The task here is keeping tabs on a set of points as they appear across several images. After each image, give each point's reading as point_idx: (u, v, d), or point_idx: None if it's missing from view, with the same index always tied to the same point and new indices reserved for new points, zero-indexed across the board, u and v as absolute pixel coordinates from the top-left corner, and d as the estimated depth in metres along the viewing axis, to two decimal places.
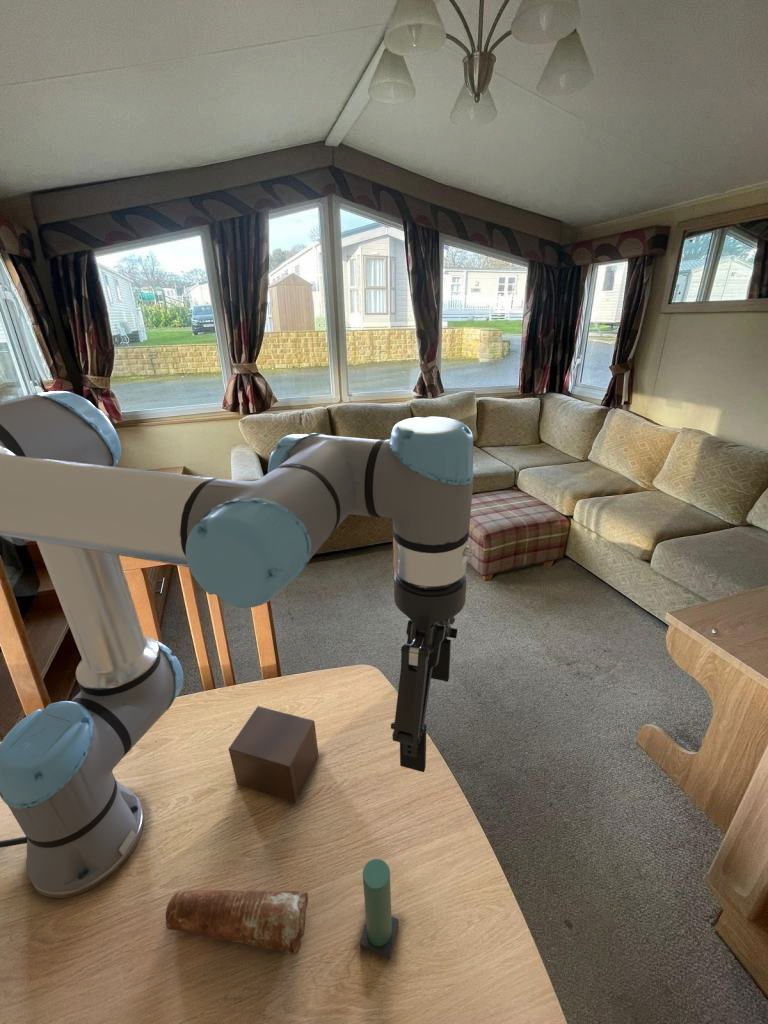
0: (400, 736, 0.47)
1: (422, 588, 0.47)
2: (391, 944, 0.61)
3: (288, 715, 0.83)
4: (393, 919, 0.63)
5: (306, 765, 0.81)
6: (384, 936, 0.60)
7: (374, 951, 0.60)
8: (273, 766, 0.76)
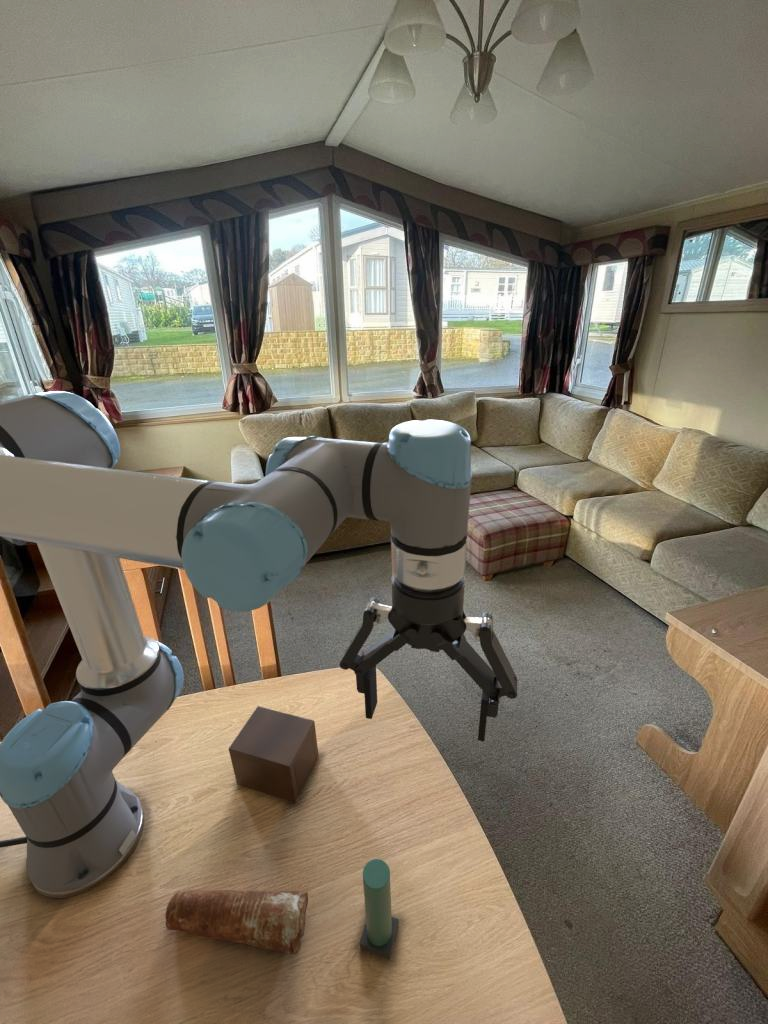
0: (345, 652, 0.58)
1: None
2: (391, 944, 0.61)
3: (288, 715, 0.83)
4: (393, 919, 0.63)
5: (306, 765, 0.81)
6: (384, 936, 0.60)
7: (374, 951, 0.60)
8: (273, 766, 0.76)
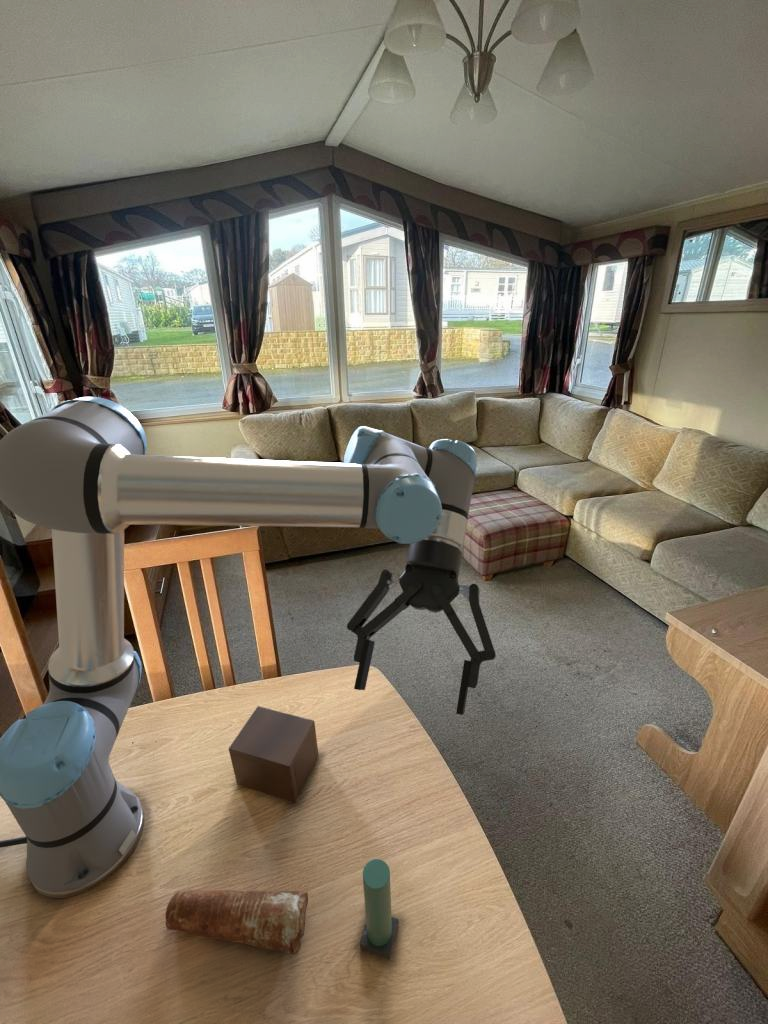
0: None
1: None
2: (391, 944, 0.61)
3: (288, 715, 0.83)
4: (393, 919, 0.63)
5: (306, 765, 0.81)
6: (384, 936, 0.60)
7: (374, 951, 0.60)
8: (273, 766, 0.76)
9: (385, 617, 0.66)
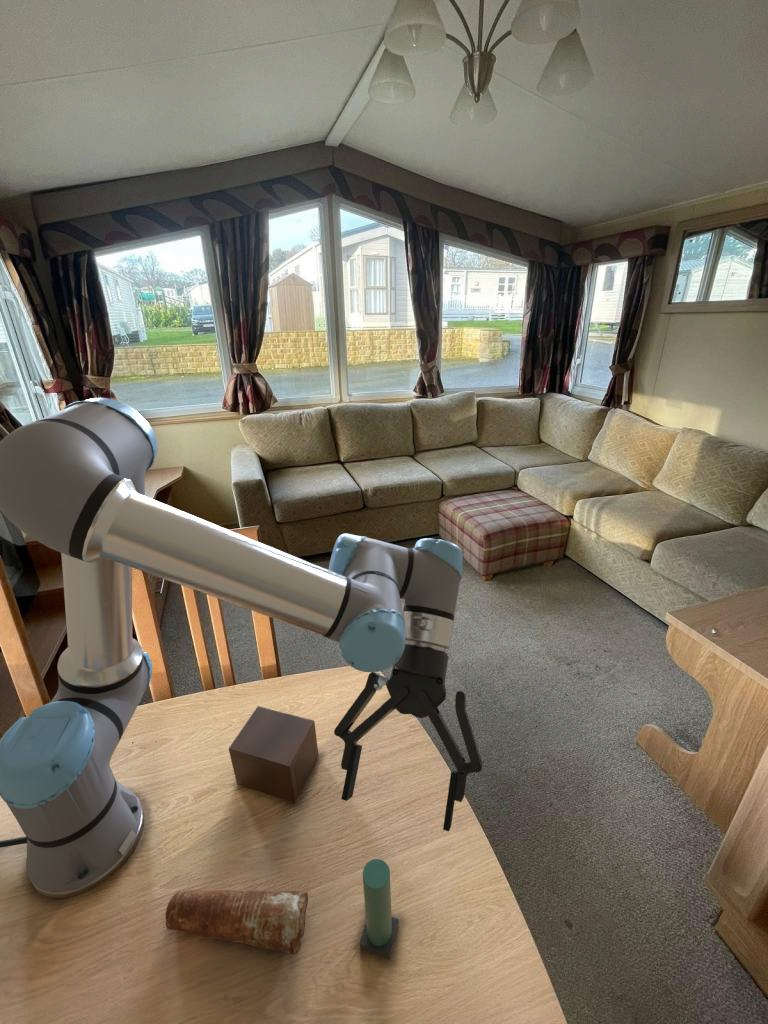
0: None
1: None
2: (391, 944, 0.61)
3: (288, 715, 0.83)
4: (393, 919, 0.63)
5: (306, 765, 0.81)
6: (384, 936, 0.60)
7: (374, 951, 0.60)
8: (273, 766, 0.76)
9: (372, 723, 0.66)
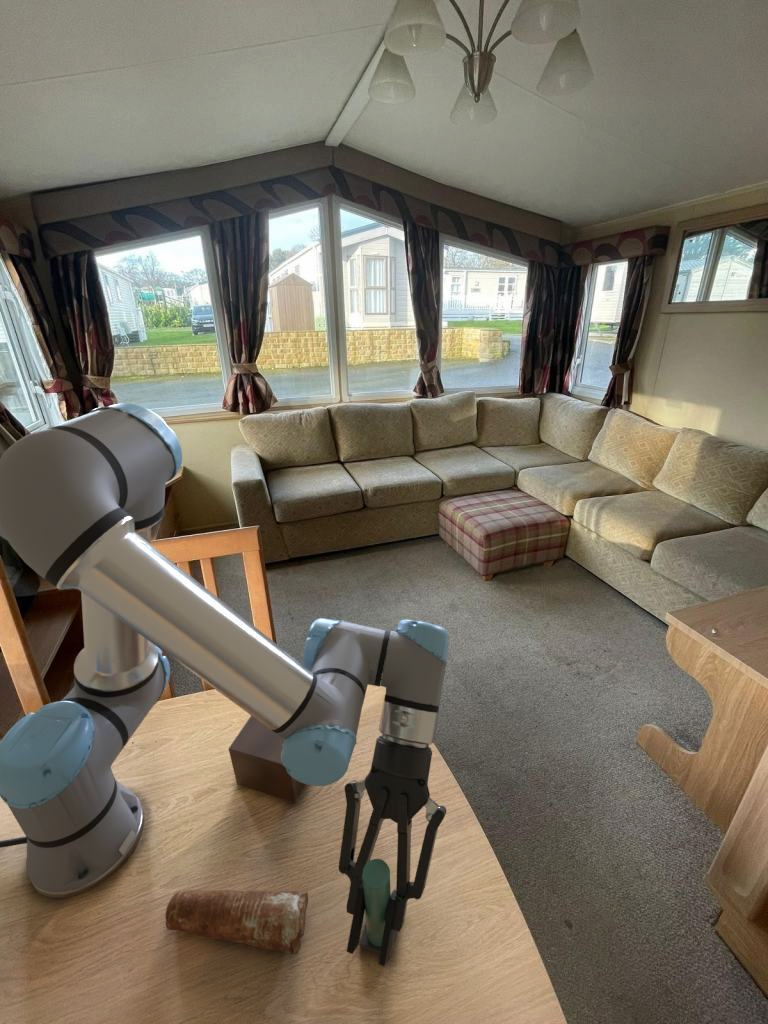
0: None
1: (382, 735, 0.65)
2: (391, 944, 0.61)
3: None
4: None
5: None
6: None
7: (374, 951, 0.60)
8: (273, 766, 0.76)
9: (369, 846, 0.60)
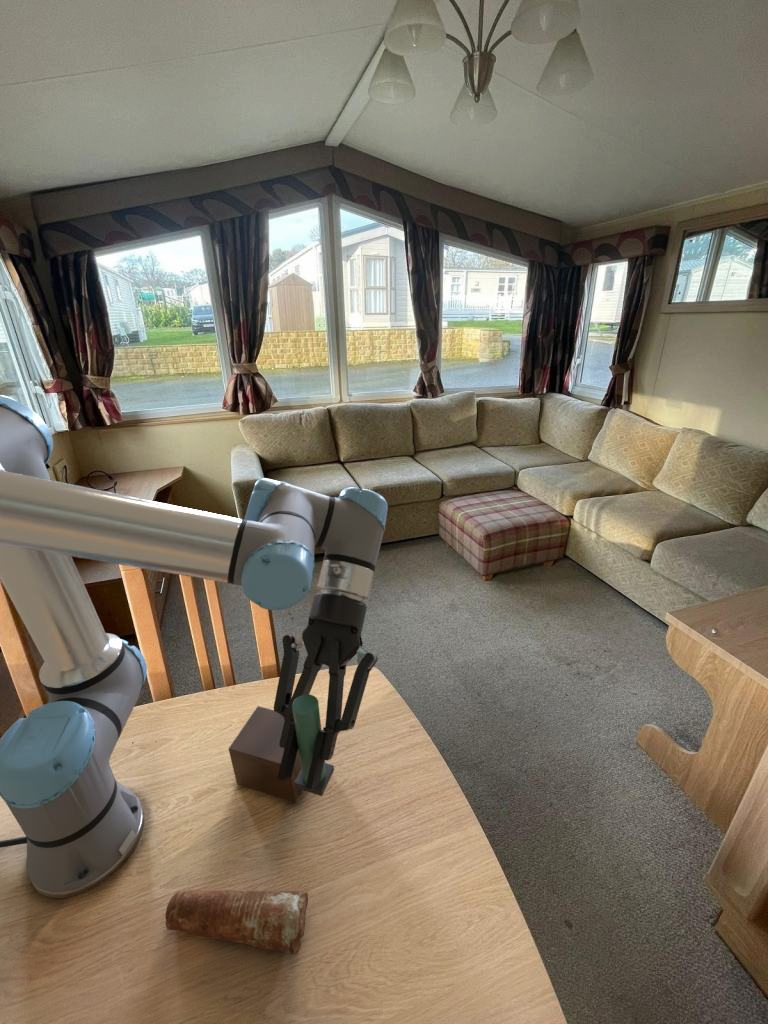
0: None
1: None
2: (324, 783, 0.64)
3: None
4: (328, 765, 0.66)
5: None
6: None
7: (307, 789, 0.64)
8: (273, 766, 0.76)
9: (303, 687, 0.63)
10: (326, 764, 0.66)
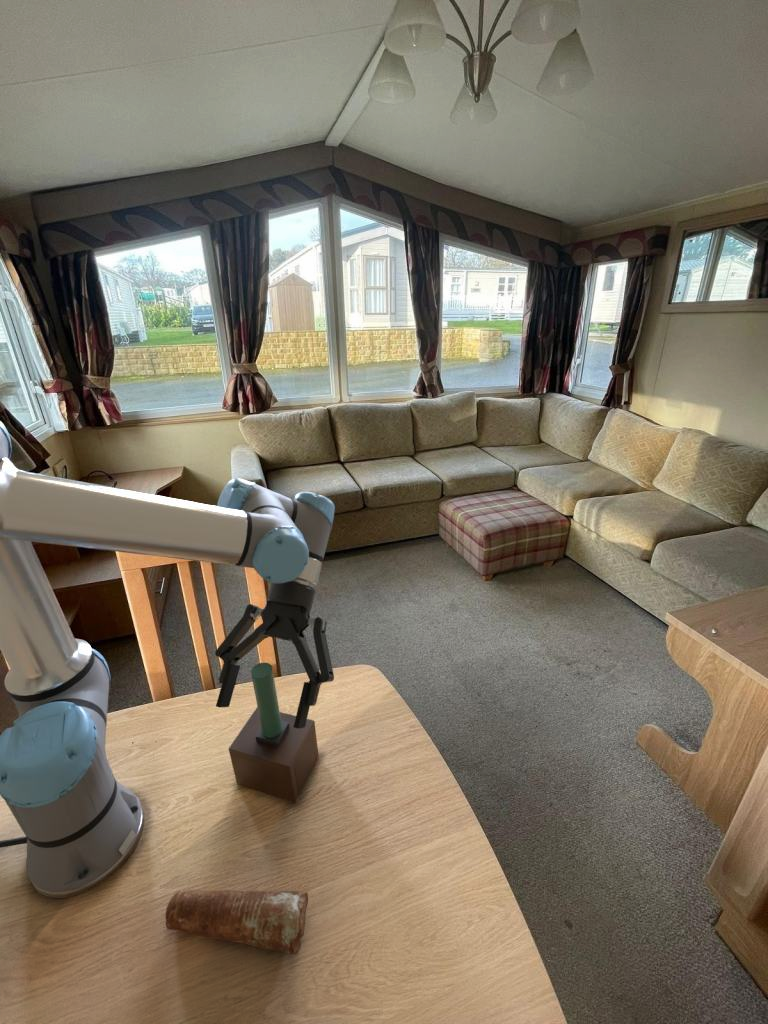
0: None
1: None
2: (279, 736, 0.78)
3: (288, 715, 0.83)
4: (284, 723, 0.80)
5: (306, 765, 0.81)
6: (273, 728, 0.77)
7: (266, 741, 0.78)
8: (273, 766, 0.76)
9: (246, 645, 0.78)
10: (282, 722, 0.81)
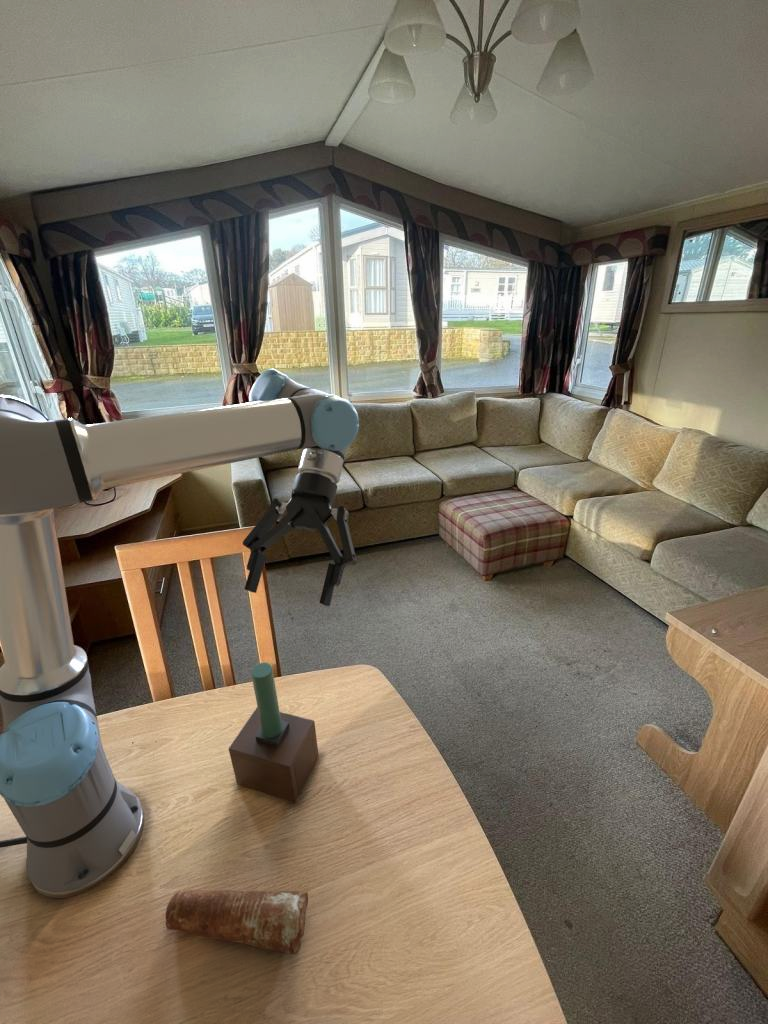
0: None
1: None
2: (279, 736, 0.78)
3: (288, 715, 0.83)
4: (284, 723, 0.80)
5: (306, 765, 0.81)
6: (273, 728, 0.77)
7: (266, 741, 0.78)
8: (273, 766, 0.76)
9: (272, 534, 0.82)
10: (282, 722, 0.81)
